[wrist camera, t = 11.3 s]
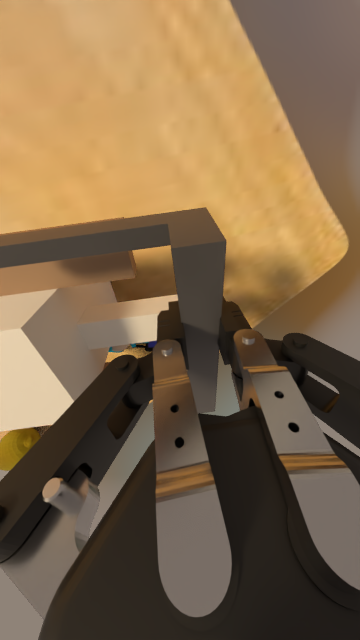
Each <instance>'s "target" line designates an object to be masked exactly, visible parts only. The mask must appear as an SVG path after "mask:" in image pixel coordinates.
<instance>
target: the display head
mask: <svg viewBox="0 0 360 640" xmlns="http://www.w3.org/2000/svg"><path fill="white" fill-rule="evenodd" d="M118 219H124V217H122V218H115V219H108V220H100V221H93V222H86V223H79V224H71V225H64V226H57V227H50V228H42V229H35V230H28V231H20V232H13V233H6V234H0V236H1V235H8V234H15V233H23V232H30V231H37V230H45V229H52V228H59V227H67V226H74V225H81V224H88V223H96V222H103V221H110V220H118ZM136 273H137V268H136V264H135V260H134V256H133V252H132V250H131V251H123V252H116V253H109V254H101V255H94V256H87V257H79V258H72V259H65V260H58V261H50V262H43V263H36V264H28V265H21V266H14V267H6V268H0V432H1V431H9V430H16V429H23V428H31V427H38V426H46V425H53V424H54V423H55V422H56V421H57V420H58V419H59V417H60V416H61V415H62V414H63V413H64V412H65V411H66V410H67V409H68V408H69V407H70V406H71V404H72V403H73V402H74V401H75V400H76V399H77V398H78V397H79V396H80V395H81V394H82V393H83V392H84V390H85V389H86V388H87V387H88V386H89V385H90V384H91V383H92V382H93V381H94V380H95V379H96V378H97V376H98V375H99V374H100V373H101V372H102V371H103V370H104V369H105V368H106V367H107V366H108V365H109V363H110V362H107V363H105V361H106V358H107V355H108V351H109V348H110V347H112V346H119V345H127V344H134V343H141V342H149V341H156V340H157V316H158V315H159V313H160V312H161V311H164V310H169V305H168V302H171V301H178V295H177V294H176V295H169V296H162V297H154V298H147V299H140V300H132V301H125V302H118V303H117V300H116V297H115V294H114V291H113V288H112V285H111V282H110V281H117V280H124V279H131V278H135V277H136ZM137 359H140V358H137Z"/></svg>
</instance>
